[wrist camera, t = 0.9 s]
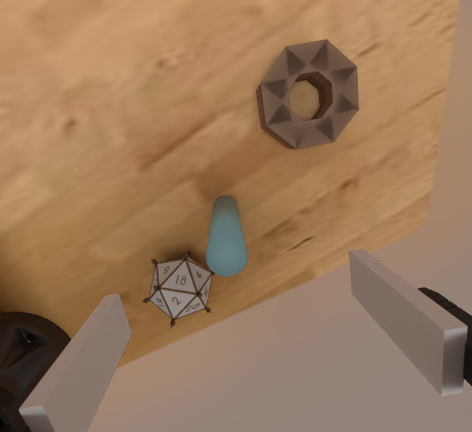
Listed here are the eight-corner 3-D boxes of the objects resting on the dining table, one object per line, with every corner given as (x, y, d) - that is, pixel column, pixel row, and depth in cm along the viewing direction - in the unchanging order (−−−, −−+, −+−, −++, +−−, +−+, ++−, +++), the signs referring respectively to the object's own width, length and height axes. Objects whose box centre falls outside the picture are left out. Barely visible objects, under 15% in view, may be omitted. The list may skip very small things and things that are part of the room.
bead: (264, 152, 33) (269, 153, 29) (252, 63, 30) (256, 51, 27) (344, 138, 33) (359, 137, 29) (338, 47, 30) (355, 34, 27)
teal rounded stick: (216, 219, 35) (210, 279, 20) (211, 197, 34) (202, 242, 19) (238, 215, 35) (250, 272, 20) (234, 193, 34) (244, 234, 19)
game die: (198, 251, 40) (240, 261, 32) (187, 308, 39) (227, 333, 31) (139, 242, 35) (171, 252, 27) (125, 309, 34) (154, 339, 26)
